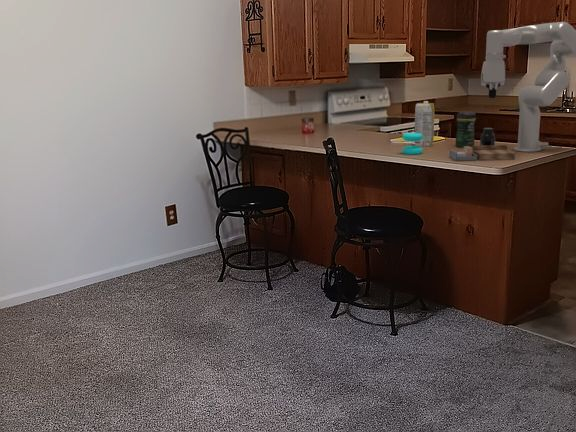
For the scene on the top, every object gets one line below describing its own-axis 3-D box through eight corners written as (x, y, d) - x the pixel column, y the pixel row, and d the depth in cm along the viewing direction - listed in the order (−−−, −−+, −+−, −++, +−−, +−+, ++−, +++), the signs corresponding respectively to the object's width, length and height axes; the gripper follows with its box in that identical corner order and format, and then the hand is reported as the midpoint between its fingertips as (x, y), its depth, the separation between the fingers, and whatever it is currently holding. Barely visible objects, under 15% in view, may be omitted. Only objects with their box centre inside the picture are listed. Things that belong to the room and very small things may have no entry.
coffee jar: (464, 148, 307) (465, 112, 302) (452, 146, 314) (454, 111, 309) (477, 146, 312) (478, 111, 307) (465, 144, 318) (467, 110, 313)
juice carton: (434, 144, 323) (435, 100, 316) (429, 146, 316) (430, 101, 310) (418, 144, 328) (419, 100, 322) (413, 146, 321) (413, 101, 315)
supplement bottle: (477, 152, 291) (478, 128, 288) (483, 151, 296) (485, 127, 293) (490, 154, 286) (491, 129, 283) (496, 152, 291) (498, 128, 288)
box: (470, 156, 282) (470, 148, 281) (477, 160, 270) (477, 151, 269) (449, 157, 282) (449, 148, 281) (455, 161, 271) (456, 152, 270)
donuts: (411, 132, 301) (426, 133, 294) (411, 151, 304) (426, 153, 296) (398, 134, 296) (413, 135, 288) (398, 153, 298) (412, 155, 290)
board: (505, 155, 281) (506, 144, 280) (514, 159, 270) (515, 148, 268) (472, 156, 282) (472, 146, 281) (479, 160, 270) (479, 149, 269)
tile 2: (469, 146, 277) (463, 146, 278) (472, 147, 273) (466, 148, 273) (468, 156, 279) (463, 156, 279) (471, 158, 274) (466, 158, 274)
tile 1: (452, 152, 278) (452, 157, 279) (455, 153, 273) (455, 159, 274) (463, 151, 278) (463, 157, 278) (466, 153, 273) (465, 158, 274)
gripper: (507, 57, 276) (505, 97, 281) (475, 58, 277) (473, 98, 281) (513, 57, 269) (510, 98, 274) (480, 58, 269) (478, 99, 274)
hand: (492, 98), depth 277 cm, fingers closed
